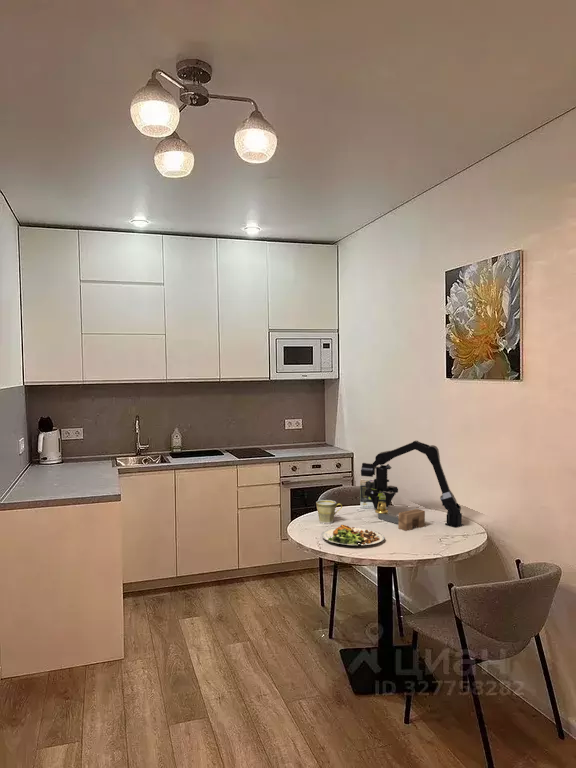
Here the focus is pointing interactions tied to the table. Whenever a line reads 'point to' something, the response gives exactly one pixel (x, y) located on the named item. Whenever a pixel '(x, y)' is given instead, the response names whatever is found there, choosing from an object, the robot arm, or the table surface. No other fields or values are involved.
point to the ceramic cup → (326, 510)
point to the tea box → (364, 499)
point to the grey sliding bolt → (386, 513)
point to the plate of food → (352, 535)
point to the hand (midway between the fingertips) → (381, 507)
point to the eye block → (411, 519)
